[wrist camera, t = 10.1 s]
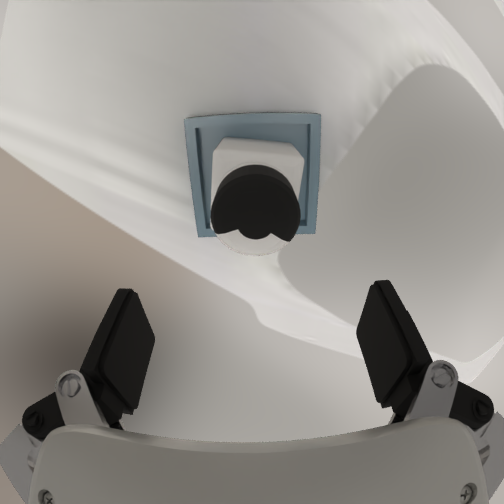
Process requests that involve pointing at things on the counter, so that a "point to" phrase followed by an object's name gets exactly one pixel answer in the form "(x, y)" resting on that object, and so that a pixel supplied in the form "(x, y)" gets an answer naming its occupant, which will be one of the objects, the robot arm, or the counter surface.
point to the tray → (253, 127)
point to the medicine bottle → (255, 194)
